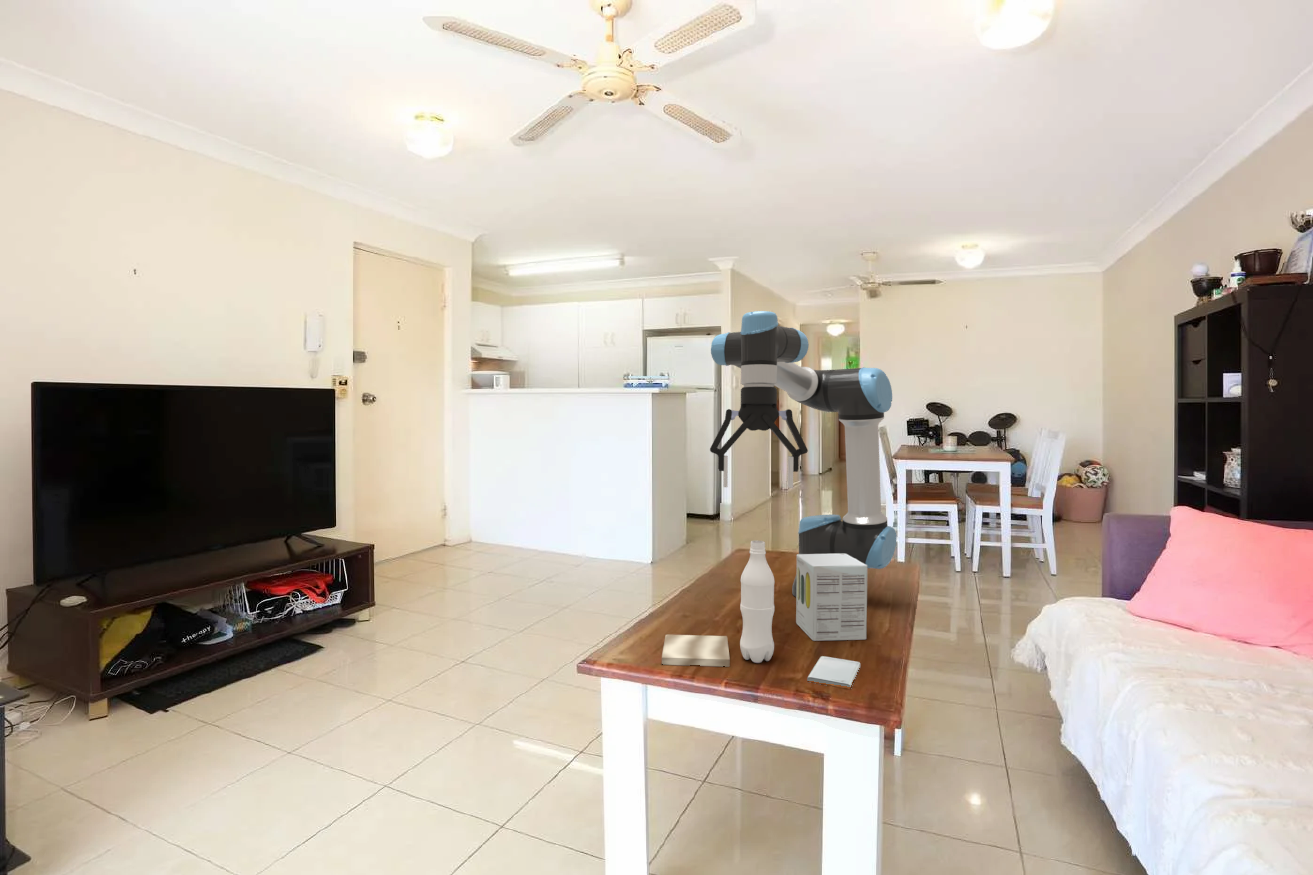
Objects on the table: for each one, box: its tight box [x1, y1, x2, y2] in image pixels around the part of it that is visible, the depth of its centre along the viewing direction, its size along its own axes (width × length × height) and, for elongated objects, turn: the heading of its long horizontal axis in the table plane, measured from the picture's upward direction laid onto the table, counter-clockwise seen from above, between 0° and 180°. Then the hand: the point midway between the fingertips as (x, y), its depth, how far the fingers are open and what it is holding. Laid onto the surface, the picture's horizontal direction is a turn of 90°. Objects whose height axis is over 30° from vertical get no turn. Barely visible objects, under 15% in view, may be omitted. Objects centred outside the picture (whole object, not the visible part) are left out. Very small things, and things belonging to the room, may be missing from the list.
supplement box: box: [795, 553, 868, 642], centre depth 153 cm, size 13×13×18 cm
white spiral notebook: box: [806, 655, 861, 687], centre depth 128 cm, size 2×8×12 cm
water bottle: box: [739, 540, 775, 664], centre depth 135 cm, size 7×7×25 cm
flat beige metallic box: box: [661, 634, 731, 668], centre depth 139 cm, size 14×14×2 cm
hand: (757, 487), depth 135 cm, fingers open, 13 cm apart
